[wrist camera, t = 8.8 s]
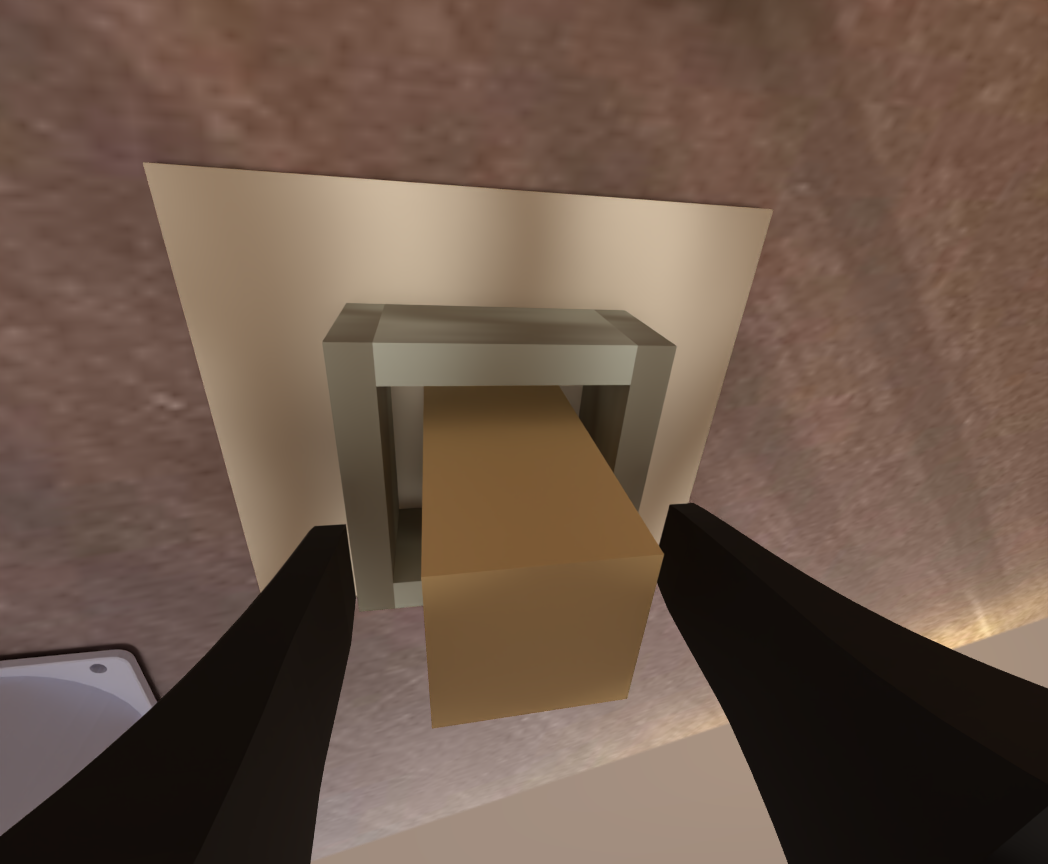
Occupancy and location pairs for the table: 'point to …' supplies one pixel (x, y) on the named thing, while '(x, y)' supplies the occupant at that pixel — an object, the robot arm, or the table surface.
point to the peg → (526, 557)
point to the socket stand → (440, 338)
